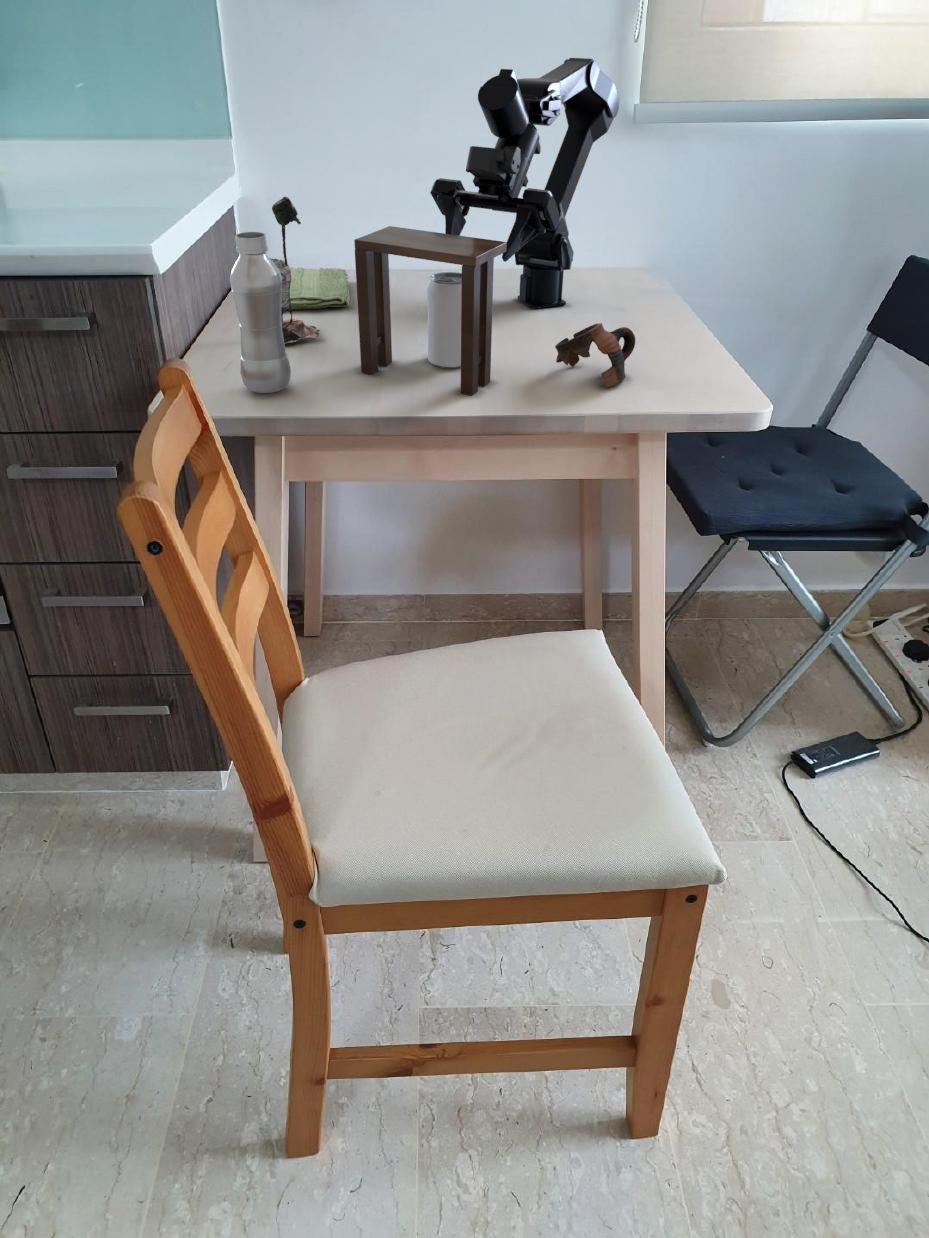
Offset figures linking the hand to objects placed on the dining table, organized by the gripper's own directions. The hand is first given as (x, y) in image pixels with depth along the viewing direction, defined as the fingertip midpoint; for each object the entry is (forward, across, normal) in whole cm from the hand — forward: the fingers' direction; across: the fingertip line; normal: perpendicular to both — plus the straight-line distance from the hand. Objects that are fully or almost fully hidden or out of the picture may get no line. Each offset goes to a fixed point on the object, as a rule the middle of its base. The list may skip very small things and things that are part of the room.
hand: (475, 255), depth 134 cm
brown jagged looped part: (+11, +21, +8) cm, 25 cm away
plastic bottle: (+30, -16, -11) cm, 36 cm away
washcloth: (+3, -36, +16) cm, 40 cm away
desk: (+19, 0, 0) cm, 19 cm away
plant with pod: (+18, -27, +2) cm, 32 cm away
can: (+15, 0, +4) cm, 16 cm away
